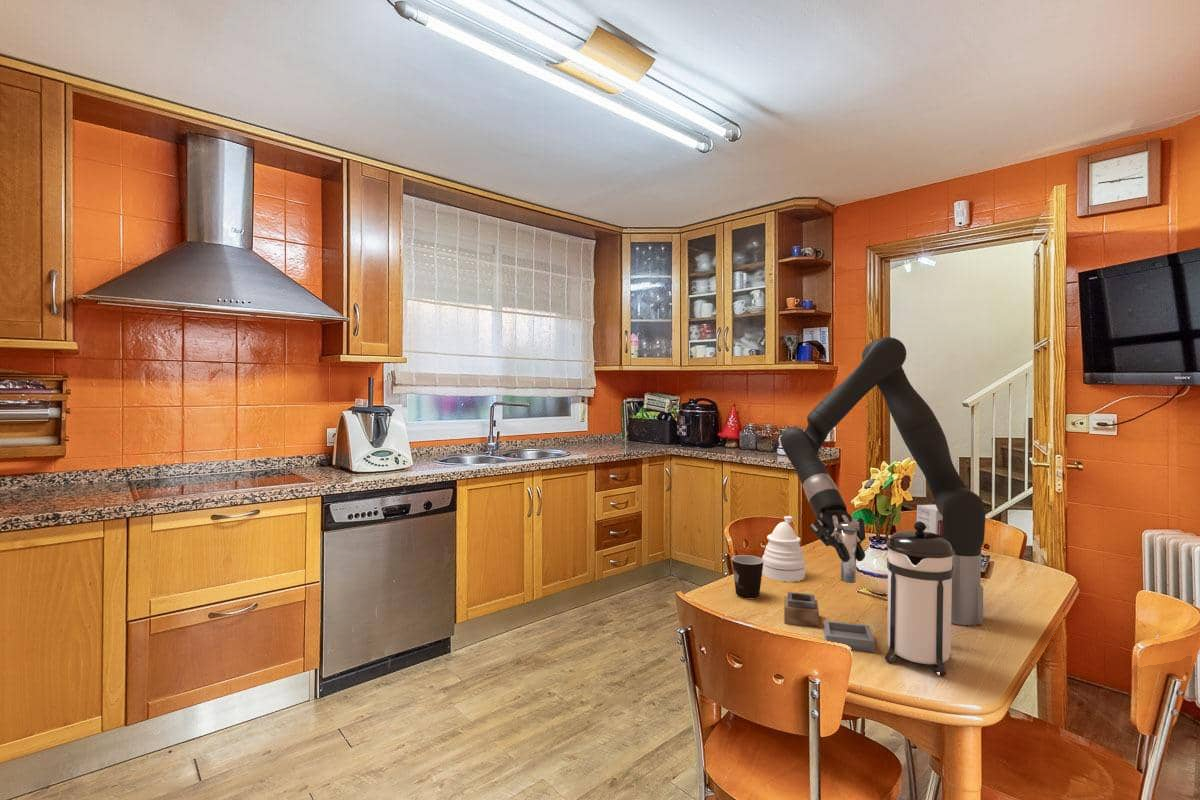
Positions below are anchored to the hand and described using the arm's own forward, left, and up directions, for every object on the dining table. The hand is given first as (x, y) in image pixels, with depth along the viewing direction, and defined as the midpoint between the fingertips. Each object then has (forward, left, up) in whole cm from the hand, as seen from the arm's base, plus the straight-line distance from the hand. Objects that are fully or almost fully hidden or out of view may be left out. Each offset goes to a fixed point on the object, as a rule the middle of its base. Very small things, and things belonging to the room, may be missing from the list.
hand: (854, 559), depth 132 cm
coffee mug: (+25, -27, -20) cm, 41 cm away
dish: (+1, -2, -20) cm, 20 cm away
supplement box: (-36, -85, -20) cm, 94 cm away
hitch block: (+11, -12, -20) cm, 25 cm away
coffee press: (-13, +2, -20) cm, 23 cm away
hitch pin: (+1, -2, -5) cm, 6 cm away
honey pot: (+15, -46, -20) cm, 52 cm away
